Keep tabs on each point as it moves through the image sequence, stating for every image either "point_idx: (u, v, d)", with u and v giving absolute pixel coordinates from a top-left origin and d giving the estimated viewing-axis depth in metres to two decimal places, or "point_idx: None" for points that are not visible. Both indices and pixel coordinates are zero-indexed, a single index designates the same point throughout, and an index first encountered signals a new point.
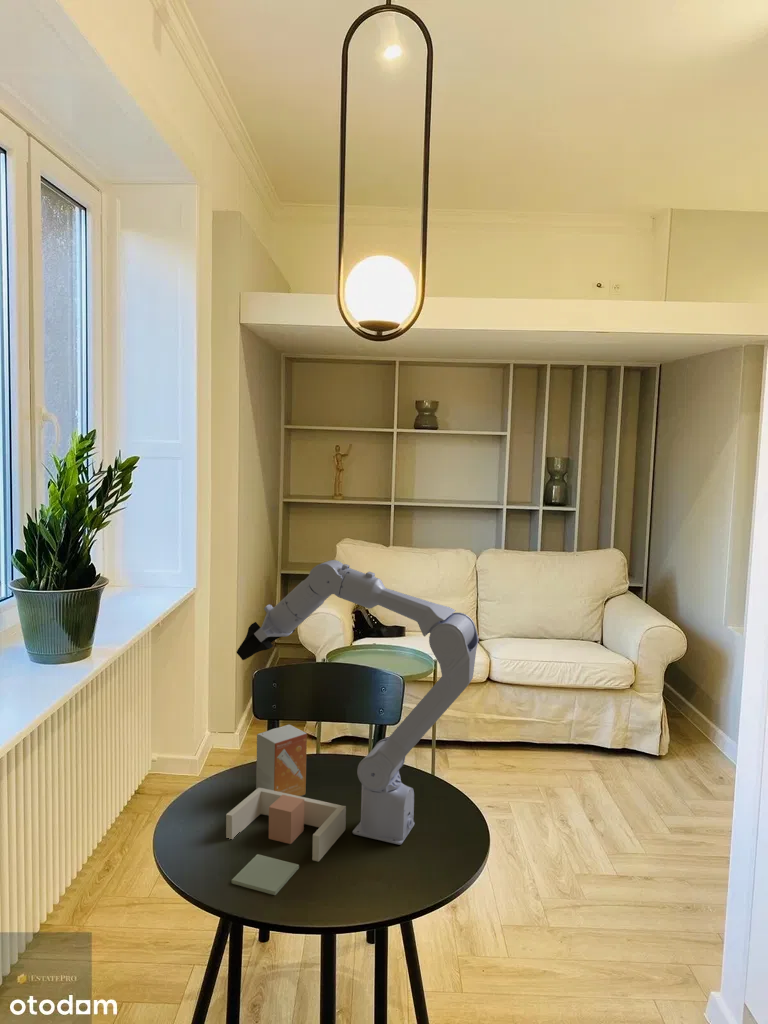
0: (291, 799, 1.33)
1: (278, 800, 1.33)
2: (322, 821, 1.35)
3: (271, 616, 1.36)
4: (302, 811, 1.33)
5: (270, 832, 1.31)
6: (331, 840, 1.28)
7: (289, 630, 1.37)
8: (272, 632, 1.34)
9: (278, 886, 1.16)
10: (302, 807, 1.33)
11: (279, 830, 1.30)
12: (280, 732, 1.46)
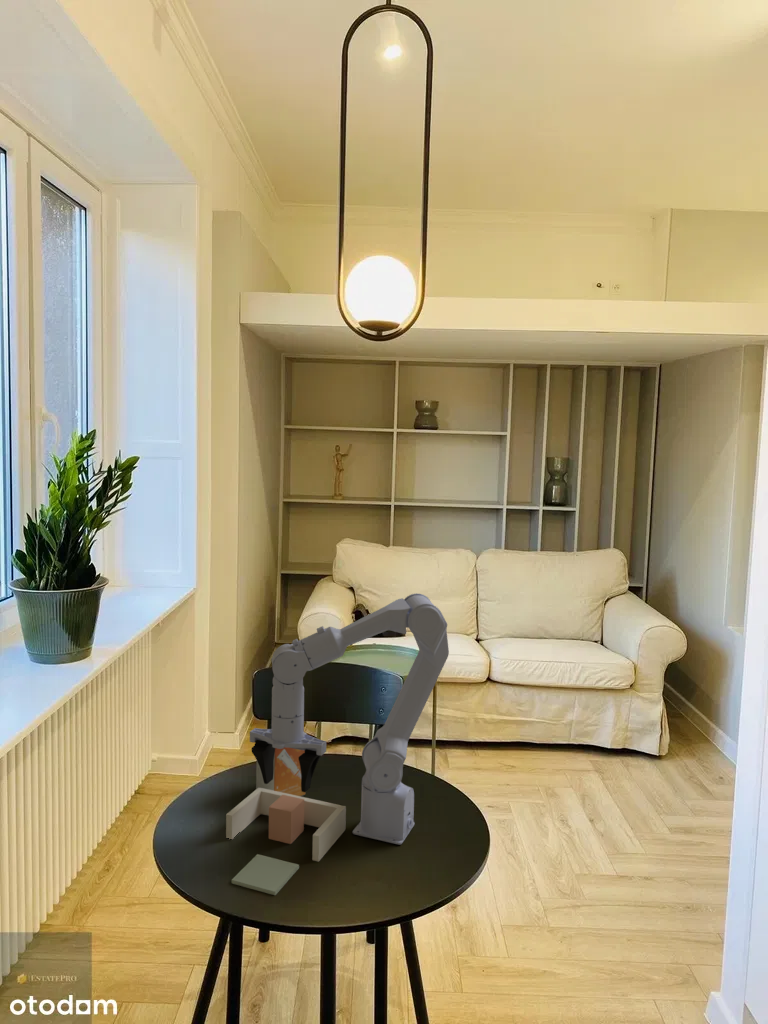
0: (291, 799, 1.33)
1: (278, 800, 1.33)
2: (322, 821, 1.35)
3: (294, 740, 1.28)
4: (302, 811, 1.33)
5: (270, 832, 1.31)
6: (331, 840, 1.28)
7: None
8: (313, 740, 1.30)
9: (278, 886, 1.16)
10: (302, 807, 1.33)
11: (279, 830, 1.30)
12: None
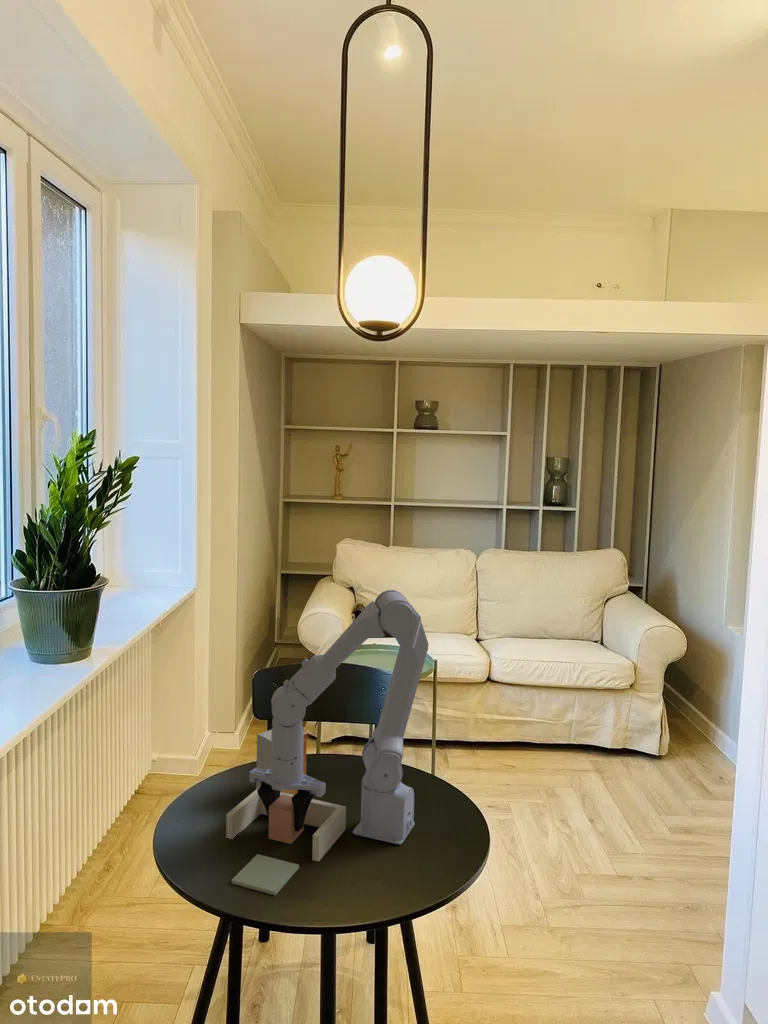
0: None
1: (278, 800, 1.33)
2: (322, 821, 1.35)
3: (294, 781, 1.29)
4: None
5: (270, 832, 1.31)
6: (331, 840, 1.28)
7: None
8: (312, 781, 1.31)
9: (278, 886, 1.16)
10: None
11: (279, 830, 1.30)
12: None
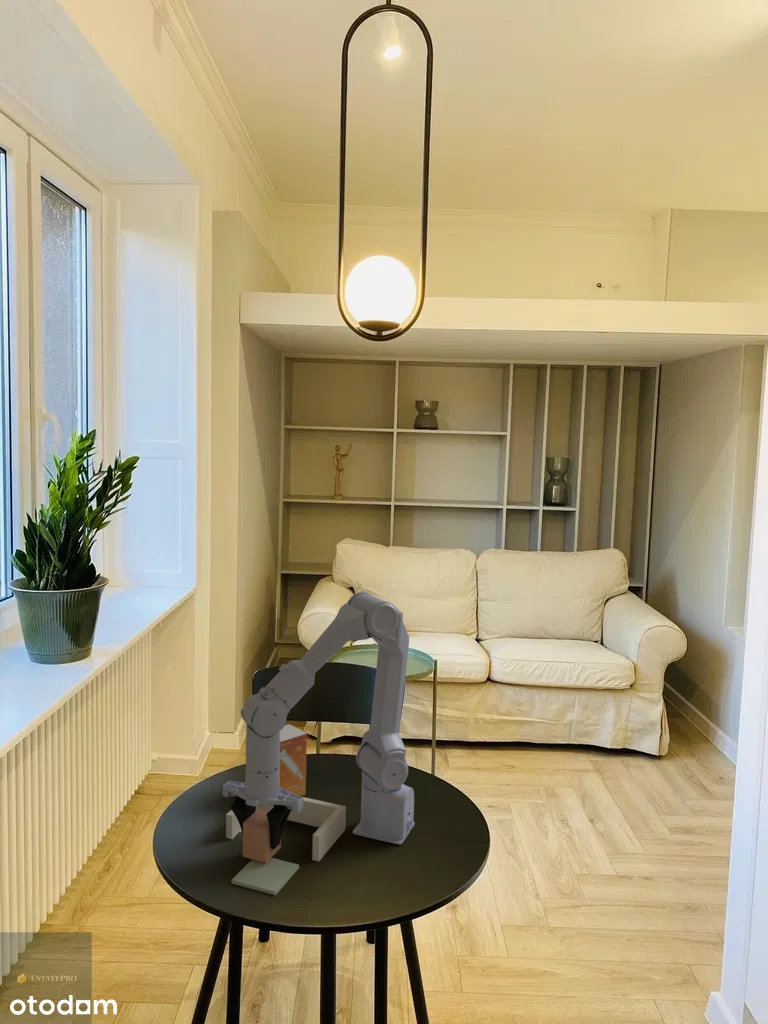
0: None
1: (253, 815, 1.25)
2: (322, 821, 1.35)
3: (269, 796, 1.21)
4: None
5: (244, 849, 1.22)
6: (331, 840, 1.28)
7: None
8: (289, 795, 1.22)
9: (278, 886, 1.16)
10: None
11: (254, 847, 1.22)
12: (280, 732, 1.46)
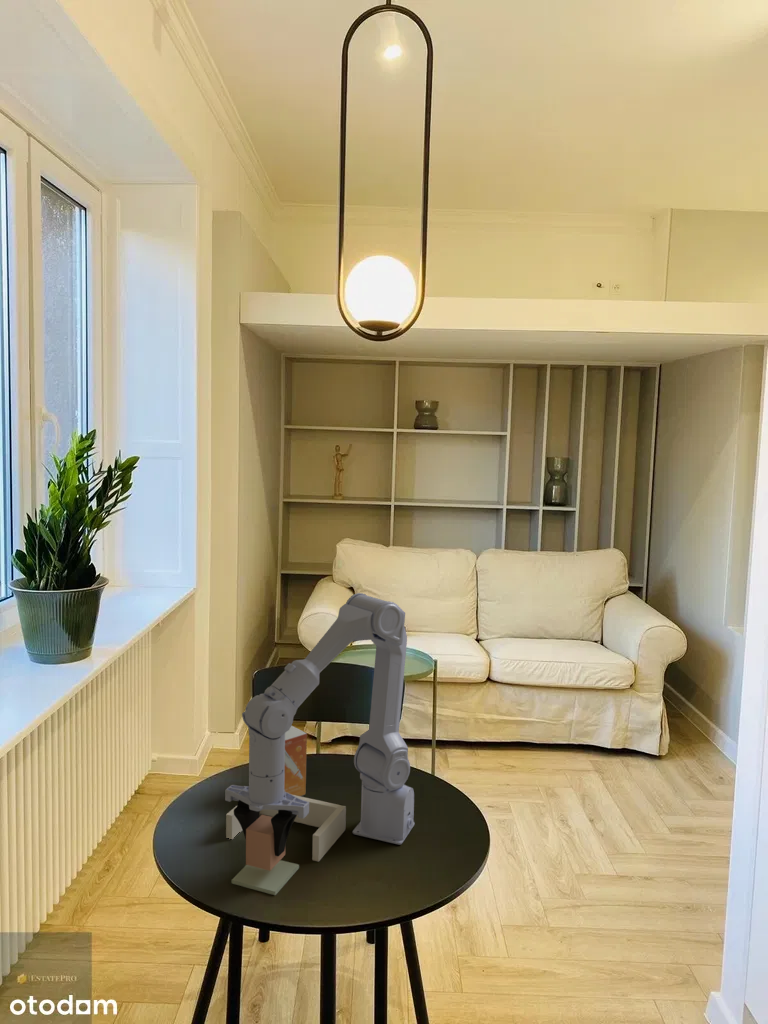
0: None
1: (257, 821, 1.20)
2: (322, 821, 1.35)
3: (274, 800, 1.16)
4: None
5: (247, 857, 1.18)
6: (331, 840, 1.28)
7: None
8: (295, 800, 1.18)
9: (278, 886, 1.16)
10: None
11: (257, 855, 1.17)
12: None
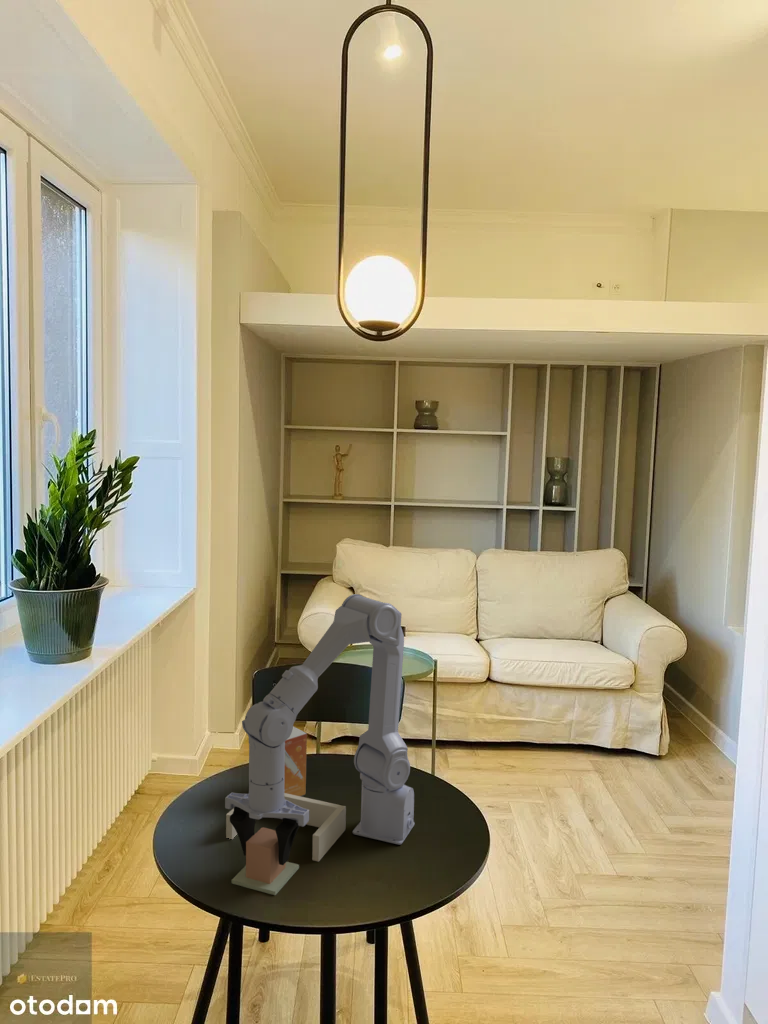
0: (271, 833, 1.20)
1: (257, 834, 1.20)
2: (322, 821, 1.35)
3: (274, 808, 1.16)
4: None
5: (247, 870, 1.18)
6: (331, 840, 1.28)
7: None
8: (295, 807, 1.18)
9: (278, 886, 1.16)
10: None
11: (257, 868, 1.17)
12: None
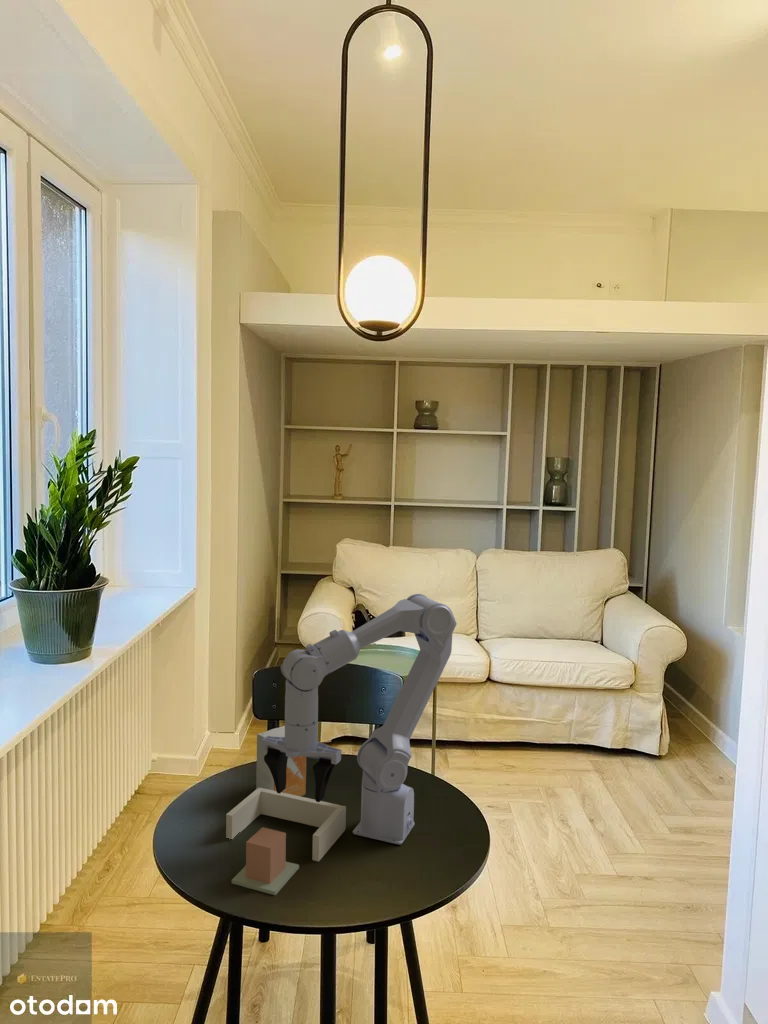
0: (271, 833, 1.20)
1: (257, 834, 1.20)
2: (322, 821, 1.35)
3: (308, 748, 1.24)
4: (284, 846, 1.20)
5: (247, 870, 1.18)
6: (331, 840, 1.28)
7: None
8: (327, 748, 1.26)
9: (278, 886, 1.16)
10: (283, 842, 1.20)
11: (257, 868, 1.17)
12: (280, 732, 1.46)
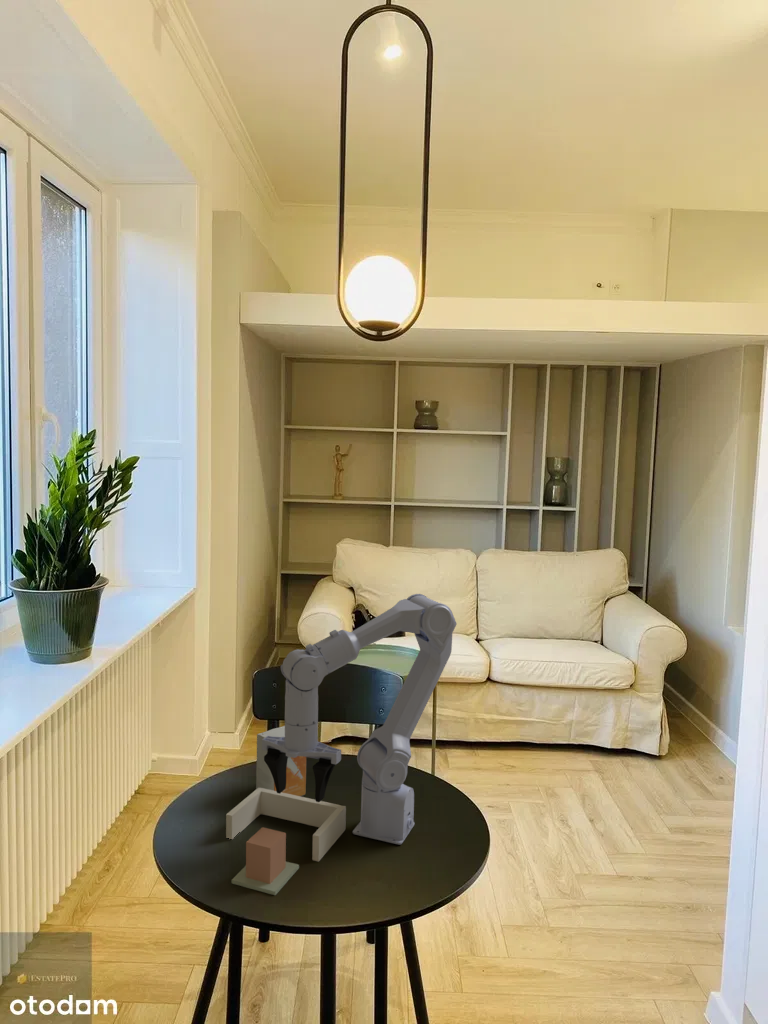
0: (271, 833, 1.20)
1: (257, 834, 1.20)
2: (322, 821, 1.35)
3: (308, 748, 1.24)
4: (284, 846, 1.20)
5: (247, 870, 1.18)
6: (331, 840, 1.28)
7: None
8: (327, 748, 1.26)
9: (278, 886, 1.16)
10: (283, 842, 1.20)
11: (257, 868, 1.17)
12: (280, 732, 1.46)
